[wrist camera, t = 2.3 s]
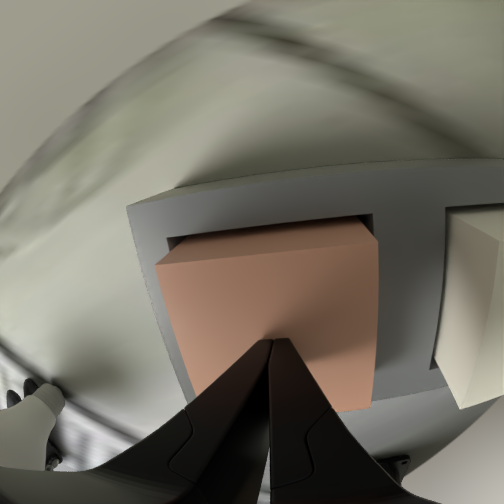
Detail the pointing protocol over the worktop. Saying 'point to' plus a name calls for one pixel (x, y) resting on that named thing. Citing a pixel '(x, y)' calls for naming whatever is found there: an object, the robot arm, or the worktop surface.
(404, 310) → the keypad
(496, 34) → the worktop surface
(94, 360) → the worktop surface
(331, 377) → the terracotta key
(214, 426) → the robot arm
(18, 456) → the lightbulb
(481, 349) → the cream key
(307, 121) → the worktop surface
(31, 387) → the can opener
